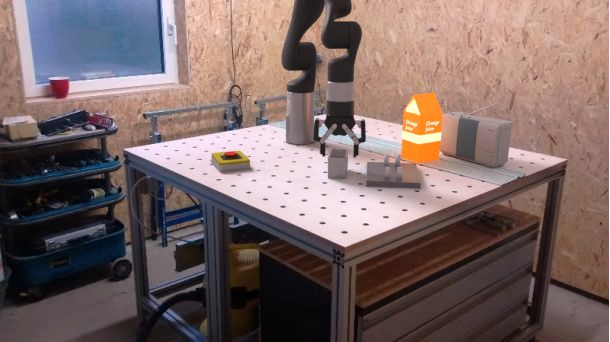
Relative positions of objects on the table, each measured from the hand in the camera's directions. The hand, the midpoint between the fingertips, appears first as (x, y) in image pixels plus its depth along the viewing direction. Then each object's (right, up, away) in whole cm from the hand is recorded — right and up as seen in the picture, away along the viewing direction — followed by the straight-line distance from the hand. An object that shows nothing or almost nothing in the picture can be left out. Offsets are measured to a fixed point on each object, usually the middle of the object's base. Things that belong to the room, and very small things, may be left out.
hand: (339, 156), depth 154 cm
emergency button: (-31, -3, +10) cm, 33 cm away
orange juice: (+26, 0, +17) cm, 31 cm away
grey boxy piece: (0, -5, +2) cm, 5 cm away
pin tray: (+14, -6, -1) cm, 16 cm away
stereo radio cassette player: (+42, -1, +16) cm, 45 cm away
